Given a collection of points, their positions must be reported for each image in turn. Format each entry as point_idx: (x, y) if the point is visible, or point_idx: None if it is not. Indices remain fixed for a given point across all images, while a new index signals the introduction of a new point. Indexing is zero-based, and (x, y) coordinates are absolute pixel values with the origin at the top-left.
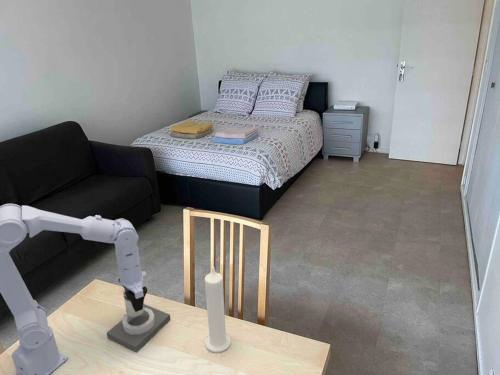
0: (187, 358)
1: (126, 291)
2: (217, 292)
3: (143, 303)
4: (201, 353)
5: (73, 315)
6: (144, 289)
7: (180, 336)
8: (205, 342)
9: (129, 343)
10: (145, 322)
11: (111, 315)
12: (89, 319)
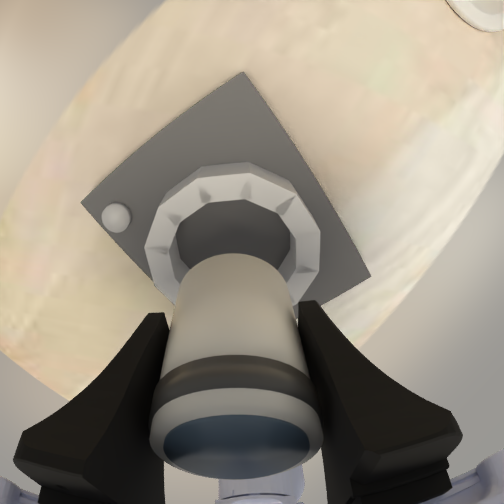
0: (484, 109)
1: (234, 474)
2: None
3: (336, 327)
4: (488, 57)
5: (86, 385)
6: (425, 454)
7: (381, 73)
8: (472, 19)
9: (337, 294)
10: (292, 232)
11: (105, 308)
12: None
